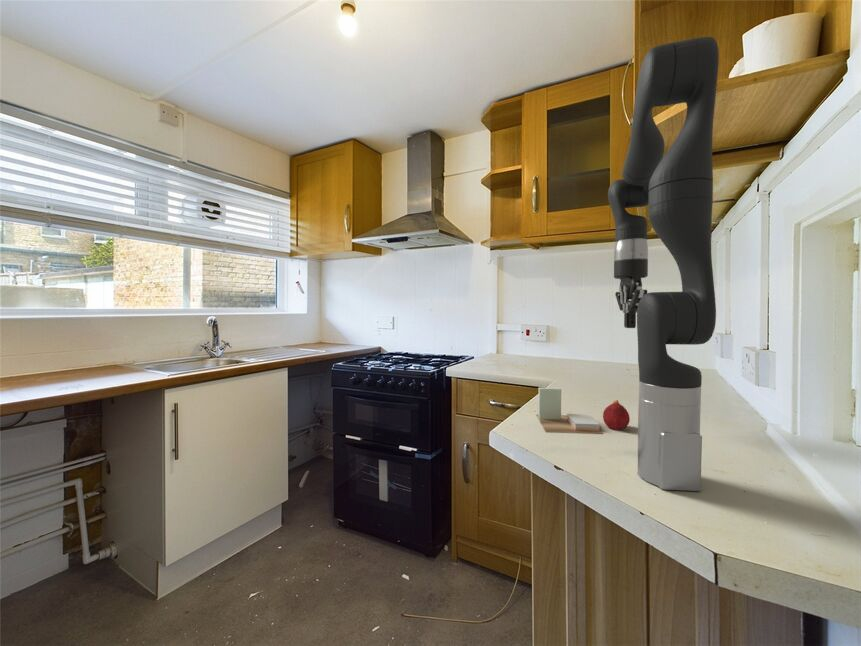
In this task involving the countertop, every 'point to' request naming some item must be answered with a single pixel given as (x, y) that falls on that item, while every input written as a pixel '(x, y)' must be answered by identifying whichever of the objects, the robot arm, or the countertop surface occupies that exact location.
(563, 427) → the walnut board
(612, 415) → the onion
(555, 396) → the sage tile
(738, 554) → the countertop surface
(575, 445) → the countertop surface
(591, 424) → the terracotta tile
